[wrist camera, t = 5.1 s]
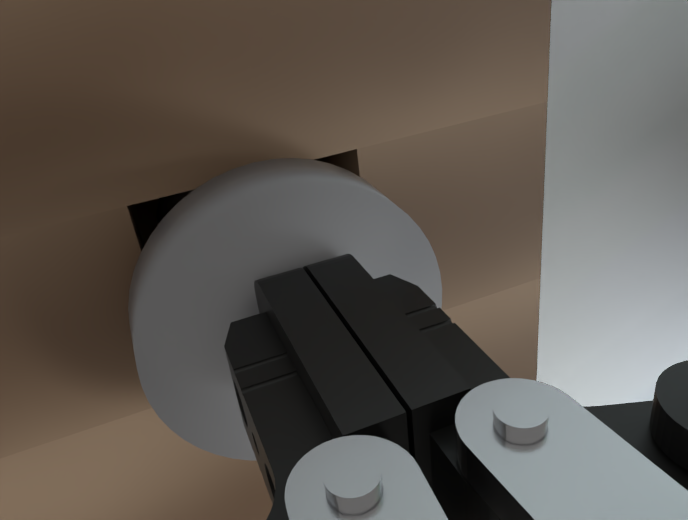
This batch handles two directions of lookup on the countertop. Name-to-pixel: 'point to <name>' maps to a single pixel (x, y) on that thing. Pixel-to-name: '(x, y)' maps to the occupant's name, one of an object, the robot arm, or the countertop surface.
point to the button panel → (215, 159)
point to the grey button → (249, 277)
